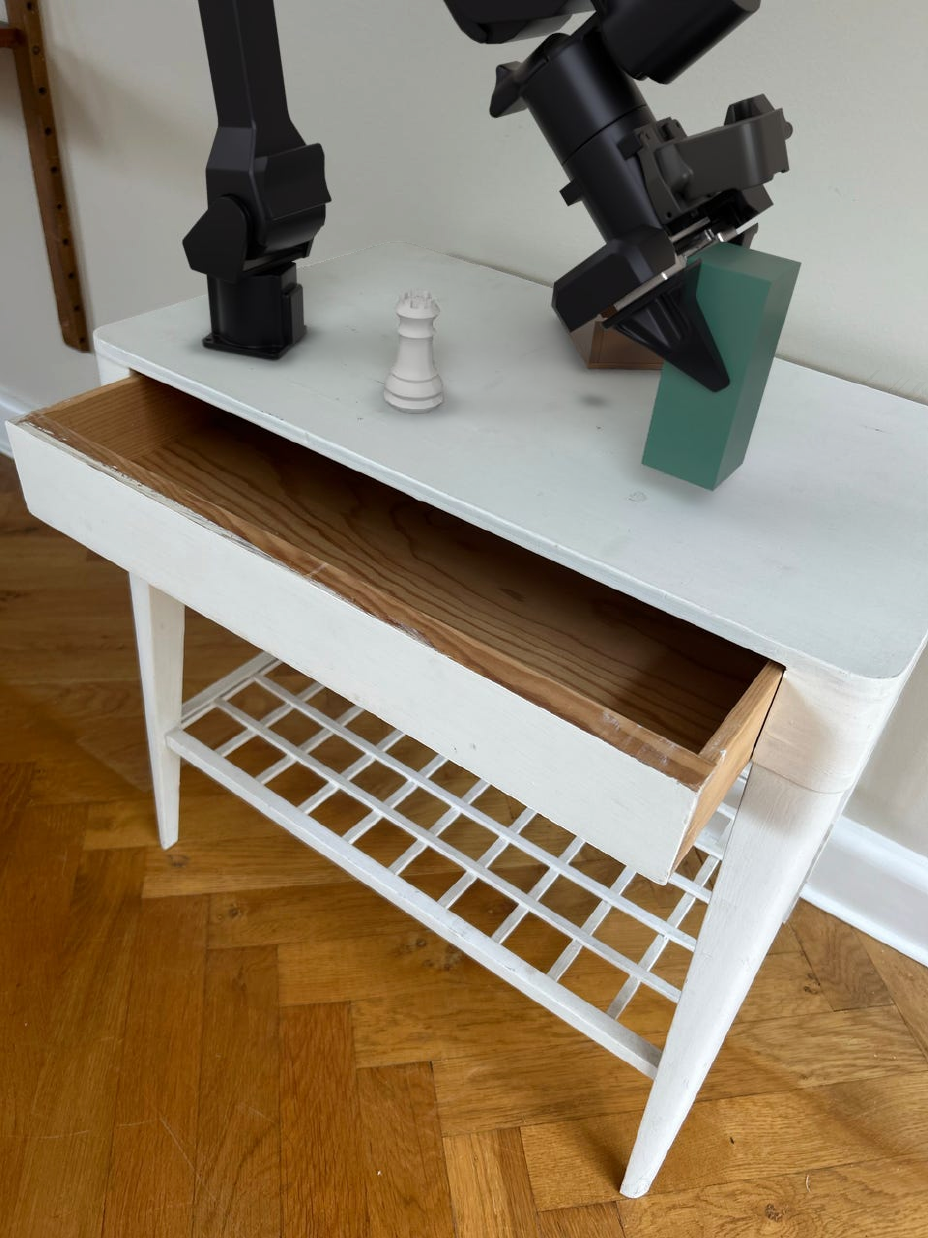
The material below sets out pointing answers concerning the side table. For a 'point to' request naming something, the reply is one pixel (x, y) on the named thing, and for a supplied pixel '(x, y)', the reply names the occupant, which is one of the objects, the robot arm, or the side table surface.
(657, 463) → the box
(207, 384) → the side table surface
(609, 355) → the walnut holder
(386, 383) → the rook chess piece
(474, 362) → the side table surface
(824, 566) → the side table surface
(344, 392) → the side table surface
